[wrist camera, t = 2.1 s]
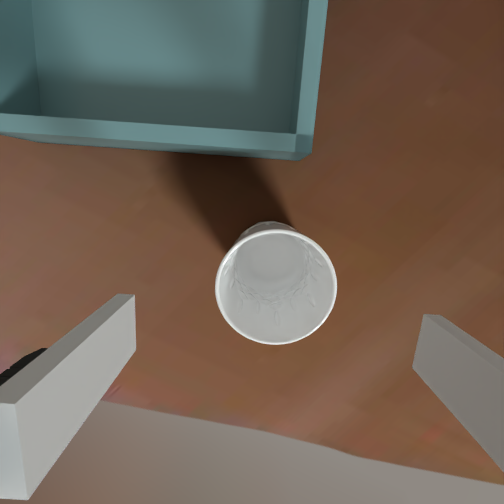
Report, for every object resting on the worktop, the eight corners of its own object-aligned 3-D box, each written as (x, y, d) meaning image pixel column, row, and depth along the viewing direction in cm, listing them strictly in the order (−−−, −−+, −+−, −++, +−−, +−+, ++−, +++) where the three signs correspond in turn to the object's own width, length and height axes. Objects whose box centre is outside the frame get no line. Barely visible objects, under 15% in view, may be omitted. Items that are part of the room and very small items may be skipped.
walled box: (326, -113, 22) (352, -223, 16) (299, 160, 26) (311, 153, 20) (13, -135, 22) (-77, -253, 16) (38, 142, 26) (-25, 129, 20)
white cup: (234, 209, 27) (221, 221, 18) (315, 219, 27) (348, 238, 18) (225, 287, 29) (209, 337, 19) (302, 296, 29) (324, 351, 19)
